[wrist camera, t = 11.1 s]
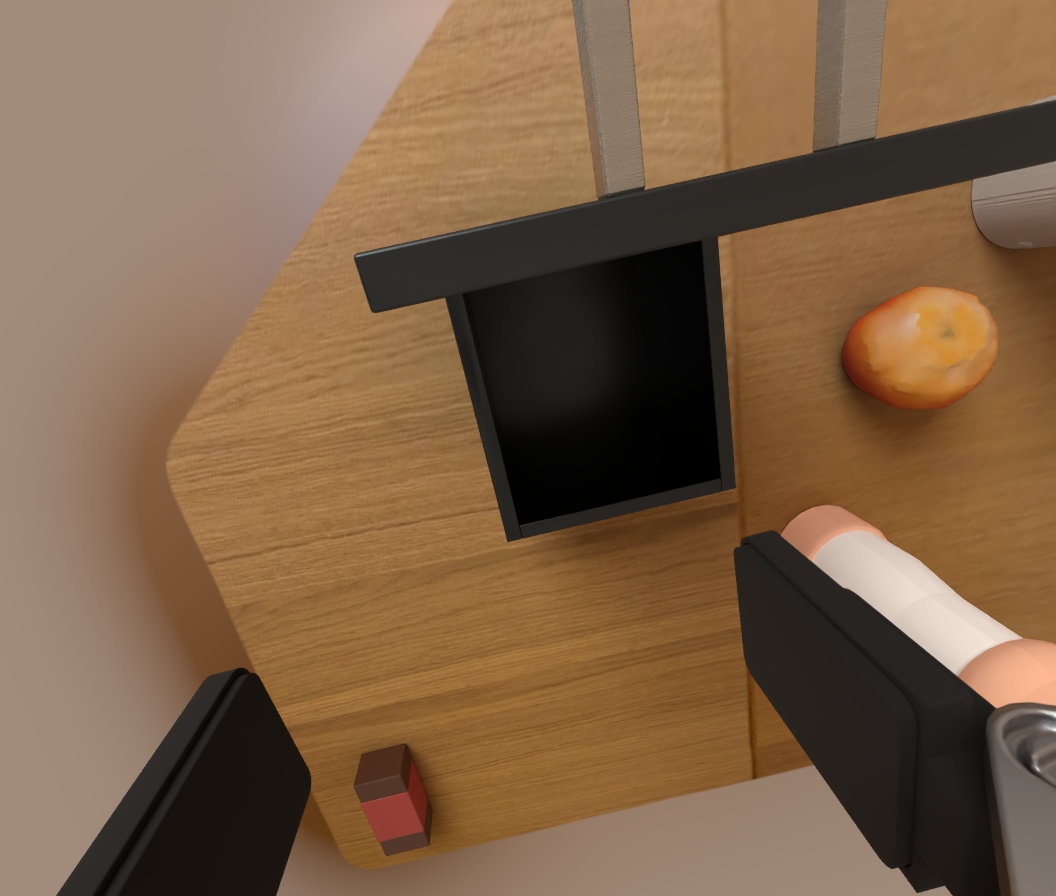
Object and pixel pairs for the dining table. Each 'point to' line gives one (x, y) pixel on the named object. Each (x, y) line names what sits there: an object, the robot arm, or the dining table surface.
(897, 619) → the salt shaker
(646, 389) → the trash bin
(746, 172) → the black lid
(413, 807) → the chocolate bar
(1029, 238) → the cup
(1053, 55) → the dining table surface
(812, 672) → the robot arm
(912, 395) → the fruit
